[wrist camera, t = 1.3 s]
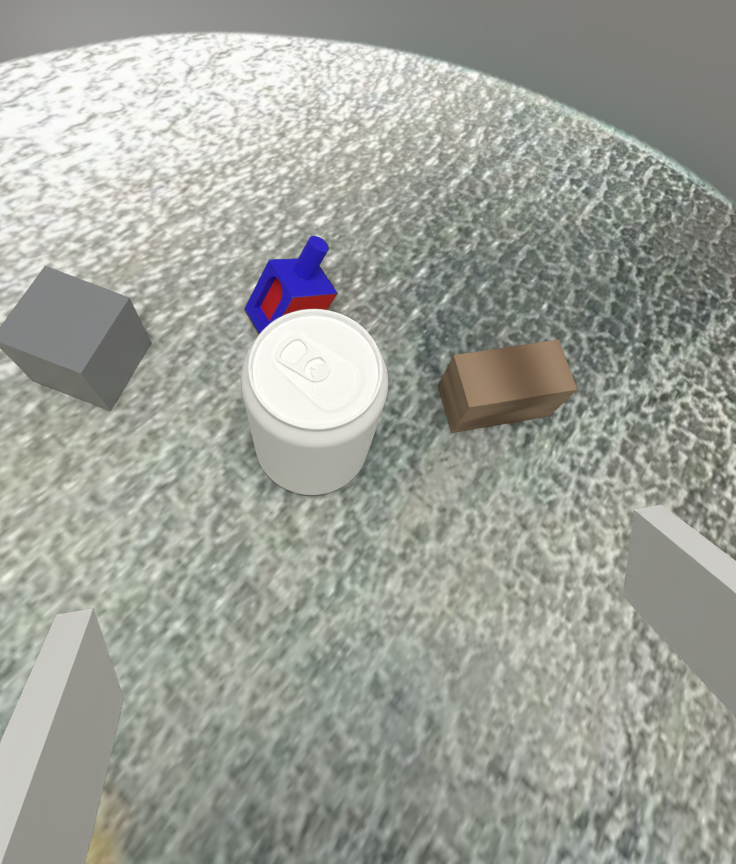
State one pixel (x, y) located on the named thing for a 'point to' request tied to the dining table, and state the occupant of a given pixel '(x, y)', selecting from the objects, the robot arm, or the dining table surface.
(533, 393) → the walnut brick
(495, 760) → the dining table surface
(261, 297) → the toy building block
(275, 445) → the beverage can
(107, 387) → the grey cube
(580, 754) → the dining table surface
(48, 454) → the dining table surface
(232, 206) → the dining table surface
